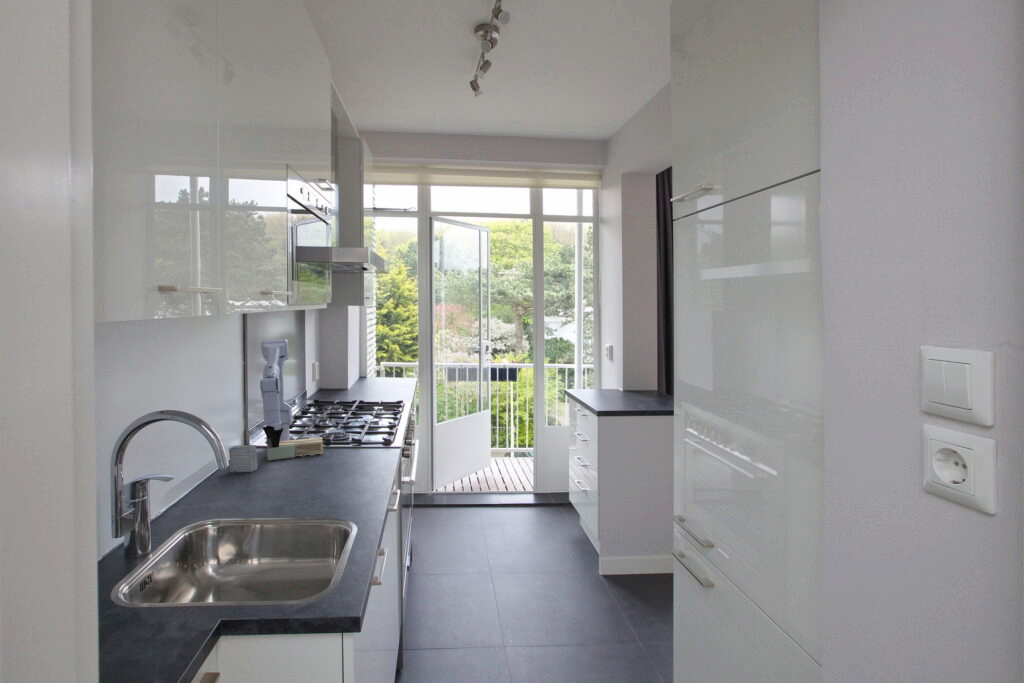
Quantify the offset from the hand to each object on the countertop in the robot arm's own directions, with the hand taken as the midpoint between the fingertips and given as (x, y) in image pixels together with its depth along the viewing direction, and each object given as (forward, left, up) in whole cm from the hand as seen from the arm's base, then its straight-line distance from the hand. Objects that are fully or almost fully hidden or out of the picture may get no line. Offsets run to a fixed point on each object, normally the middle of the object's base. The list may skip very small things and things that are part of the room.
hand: (273, 446), depth 230 cm
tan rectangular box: (-7, +7, -6) cm, 12 cm away
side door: (-2, +3, -5) cm, 6 cm away
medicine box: (+10, -10, -6) cm, 15 cm away
